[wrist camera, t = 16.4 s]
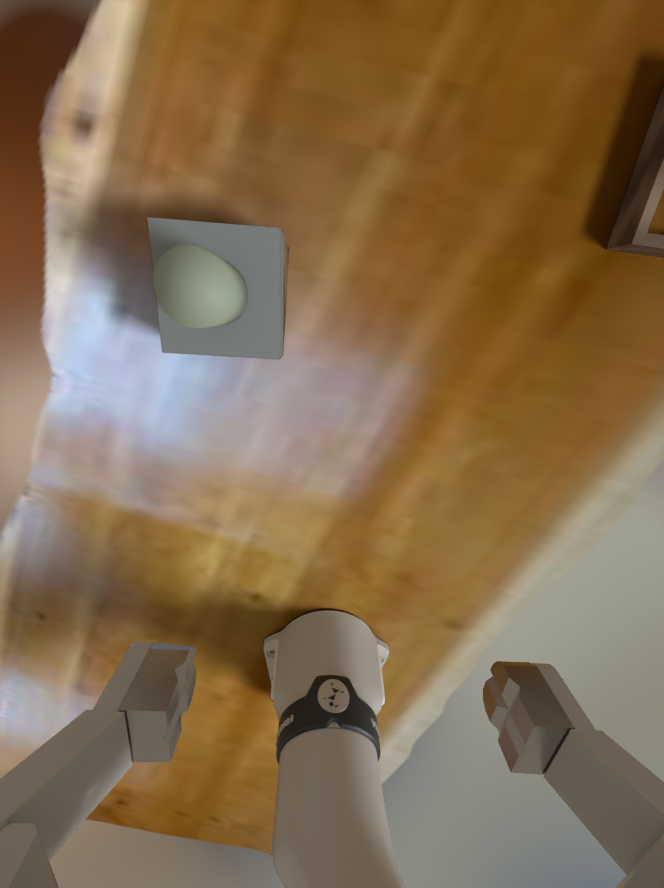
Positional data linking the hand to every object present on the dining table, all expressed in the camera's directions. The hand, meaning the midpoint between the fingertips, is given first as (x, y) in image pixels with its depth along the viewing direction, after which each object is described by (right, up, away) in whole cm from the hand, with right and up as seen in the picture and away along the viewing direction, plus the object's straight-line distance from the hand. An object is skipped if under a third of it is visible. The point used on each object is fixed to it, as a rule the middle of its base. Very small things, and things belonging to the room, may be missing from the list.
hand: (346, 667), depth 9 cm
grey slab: (-10, +20, +22) cm, 31 cm away
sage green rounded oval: (-10, +18, +19) cm, 28 cm away
